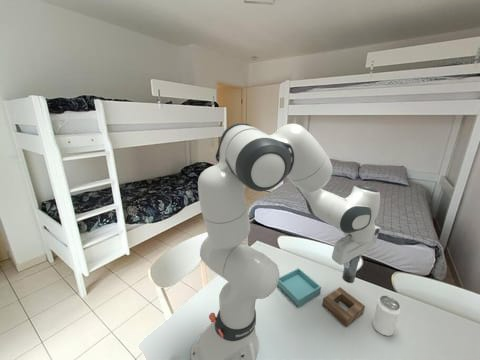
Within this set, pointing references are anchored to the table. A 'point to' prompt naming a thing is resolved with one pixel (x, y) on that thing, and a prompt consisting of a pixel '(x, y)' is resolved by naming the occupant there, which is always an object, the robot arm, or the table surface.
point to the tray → (298, 287)
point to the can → (386, 315)
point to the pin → (351, 270)
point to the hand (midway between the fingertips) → (351, 264)
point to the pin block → (338, 312)
